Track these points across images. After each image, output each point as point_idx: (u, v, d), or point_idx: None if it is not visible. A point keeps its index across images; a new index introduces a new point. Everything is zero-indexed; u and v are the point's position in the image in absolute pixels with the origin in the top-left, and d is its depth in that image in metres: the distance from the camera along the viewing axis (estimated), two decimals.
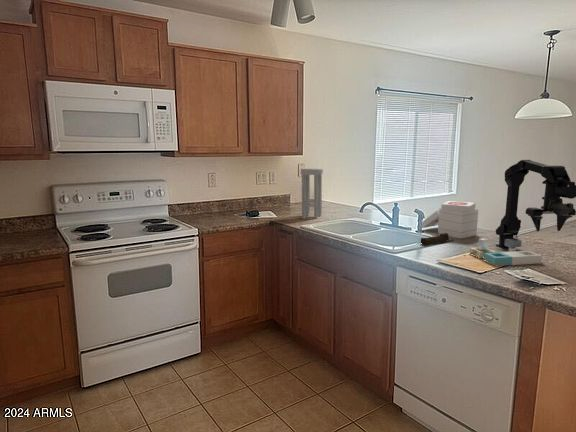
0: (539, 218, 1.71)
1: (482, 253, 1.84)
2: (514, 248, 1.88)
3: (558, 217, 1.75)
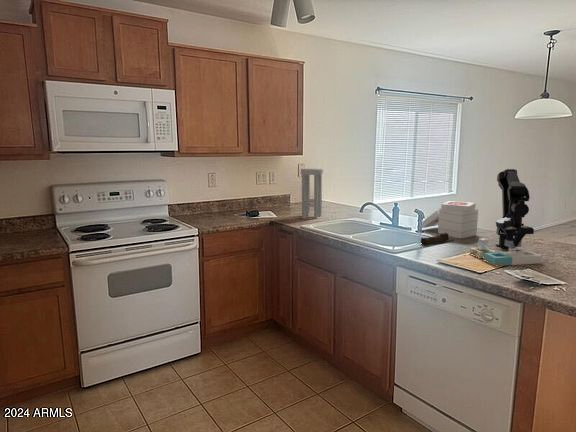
0: (504, 230, 1.92)
1: (482, 253, 1.84)
2: (514, 248, 1.88)
3: None
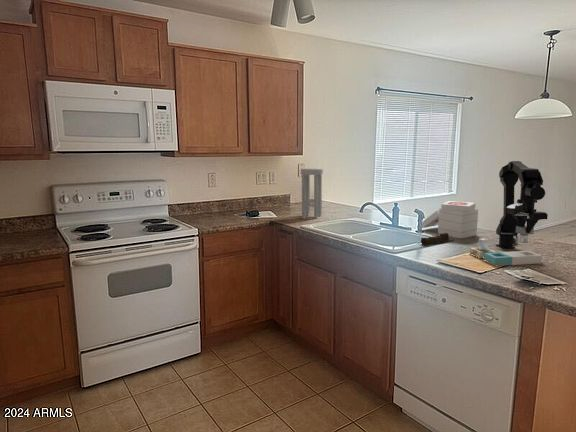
0: (515, 217, 1.82)
1: (482, 253, 1.84)
2: (526, 235, 1.79)
3: None
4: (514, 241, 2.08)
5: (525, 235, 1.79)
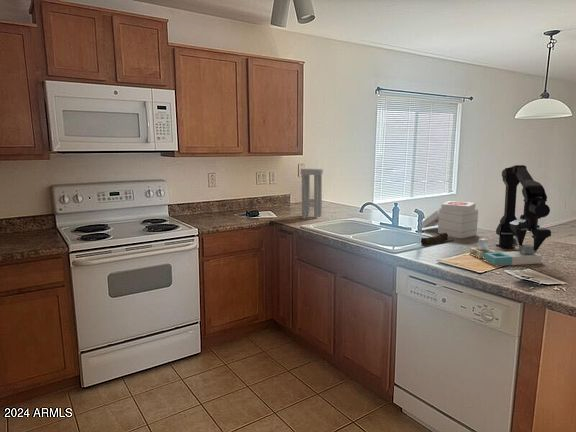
0: (514, 231, 1.83)
1: (482, 253, 1.84)
2: (529, 254, 1.77)
3: None
4: (514, 241, 2.08)
5: (528, 254, 1.77)
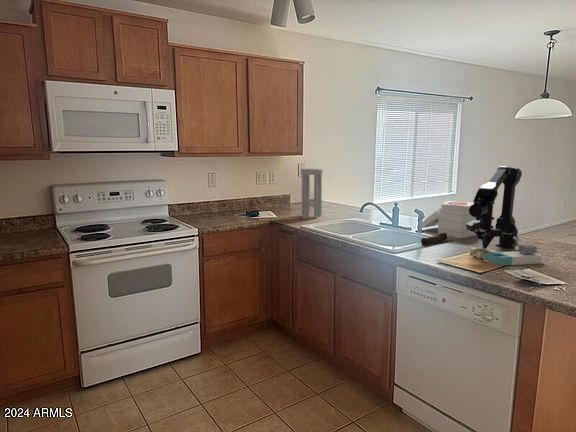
0: (475, 233, 1.89)
1: (482, 253, 1.84)
2: (529, 254, 1.77)
3: None
4: (514, 241, 2.08)
5: (528, 254, 1.77)
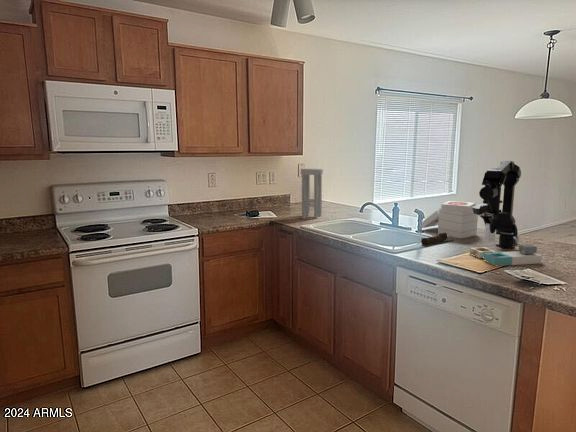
0: (482, 217, 1.83)
1: (482, 253, 1.84)
2: (529, 254, 1.77)
3: None
4: (514, 241, 2.08)
5: (528, 254, 1.77)
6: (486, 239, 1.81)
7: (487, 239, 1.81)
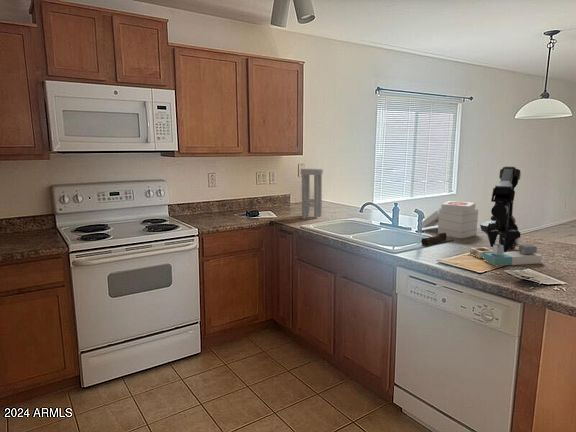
0: (486, 233, 1.81)
1: (482, 253, 1.84)
2: (529, 254, 1.77)
3: None
4: (514, 241, 2.07)
5: (528, 254, 1.77)
6: None
7: None
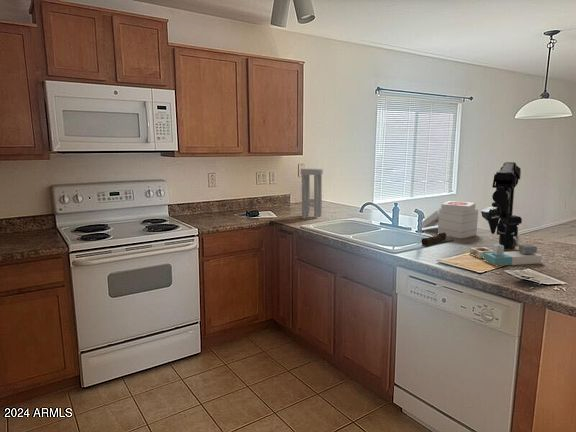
0: (486, 219, 1.80)
1: (482, 253, 1.84)
2: (529, 254, 1.77)
3: None
4: (514, 241, 2.07)
5: (528, 254, 1.77)
6: None
7: None
